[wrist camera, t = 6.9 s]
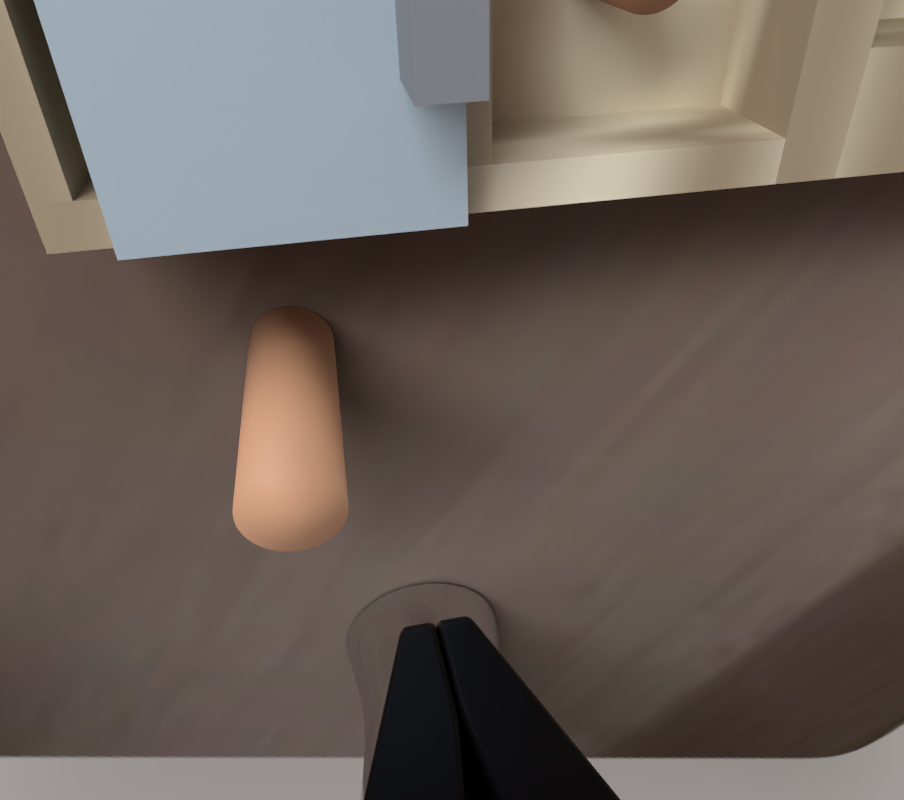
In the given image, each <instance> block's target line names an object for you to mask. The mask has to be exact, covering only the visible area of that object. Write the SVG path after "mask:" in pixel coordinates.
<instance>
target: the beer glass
mask: <svg viewBox="0 0 904 800" xmlns="http://www.w3.org/2000/svg"><path fill="white" fill-rule="evenodd" d="M462 616H467V617H470V618H471V619H472V620H473V621H474V622H475V623H476V624H477V625H478V627H479V628H480V629H481V630H482V631H483V633H484V634H485V635H486V636H487V637H488V639H489V640H490V641H491V642H492V644H493V645H494V646H495V647H496V648H497V650H498V651H499V644H498V630H497V622H496V617H495V614H494V612H493V610H492V608H491V606H490V605H489V603H488V602H487V601H486V600H485V599H484V598H483V597H482V596H480V595H479V594H477V593H476V592H474V591H472V590H470V589H467V588H464V587H461V586H457V585H453V584H445V583H426V584H418V585H413V586H408V587H405V588H401V589H398V590H395V591H393V592H391V593H388V594H386V595H384V596H382V597H381V598H379V599H377V600H376V601H374V602H373V603H371V604H370V605H369V606H368V607H366V608H365V609H364V610H363V611H362V612H361V613H360V614H359V615H358V617H357V618H356V619H355V621H354V622H353V624H352V626H351V628H350V631H349V635H348V642H347V646H348V654H349V658H350V662H351V666H352V669H353V673H354V676H355V680H356V683H357V686H358V690H359V693H360V698H361V702H362V708H363V715H364V725H365V752H364V767H363V780H362V790H361V800H364V796H365V791H366V787H367V782H368V778H369V773H370V768H371V764H372V759H373V755H374V750H375V745H376V741H377V736H378V732H379V727H380V722H381V718H382V713H383V709H384V704H385V700H386V695H387V690H388V686H389V681H390V677H391V672H392V667H393V663H394V658H395V654H396V649H397V644H398V640H399V635H400V632H401V630H402V629H403V628H404V627H407V626H412V625H418V624H423V623H433V624H434V625H435V626H436V625H437V623H438V622H439V621H441V620H445V619H451V618H456V617H462Z"/></svg>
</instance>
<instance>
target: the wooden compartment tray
mask: <svg viewBox="0 0 904 800" xmlns="http://www.w3.org/2000/svg"><path fill="white" fill-rule="evenodd" d="M466 123H467V179H468V214H471V213H481V212H491V211H502V210H512V209H523V208H533V207H543V206H554V205H564V204H575V203H585V202H595V201H606V200H616V199H627V198H637V197H647V196H658V195H668V194H679V193H689V192H699V191H710V190H720V189H731V188H741V187H751V186H762V185H772V184H783V183H793V182H803V181H814V180H824V179H835V178H845V177H855V176H866V175H876V174H887V173H897V172H904V0H489V101H478V102H466ZM0 132H1V135H2V137H3V140H4V142H5V145H6V148H7V150H8V153H9V156H10V158H11V161H12V163H13V166H14V169H15V171H16V174H17V176H18V179H19V182H20V184H21V187H22V190H23V192H24V195H25V197H26V200H27V203H28V205H29V208H30V210H31V213H32V216H33V218H34V221H35V224H36V226H37V229H38V231H39V234H40V237H41V239H42V242H43V244H44V247H45V250H46V252H47V254H55V253H65V252H76V251H86V250H96V249H107V248H113V244H112V241H111V238H110V235H109V232H108V229H107V226H106V223H105V220H104V217H103V214H102V210H101V207H100V204H99V201H98V198H97V195H96V192H95V189H94V186H93V183H92V180H91V176H90V173H89V170H88V167H87V164H86V161H85V158H84V155H83V152H82V149H81V146H80V142H79V139H78V136H77V133H76V130H75V127H74V124H73V121H72V118H71V115H70V112H69V108H68V105H67V102H66V99H65V96H64V93H63V90H62V87H61V84H60V81H59V78H58V74H57V71H56V68H55V65H54V62H53V59H52V56H51V53H50V50H49V47H48V44H47V40H46V37H45V34H44V31H43V28H42V25H41V22H40V19H39V16H38V13H37V10H36V6H35V3H34V0H0Z"/></svg>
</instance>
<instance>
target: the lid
mask: <svg viewBox="0 0 904 800" xmlns="http://www.w3.org/2000/svg"><path fill="white" fill-rule="evenodd" d="M34 3H35V6H36V10H37V13H38V16H39V19H40V22H41V25H42V28H43V31H44V34H45V37H46V40H47V44H48V47H49V50H50V53H51V56H52V59H53V62H54V65H55V68H56V71H57V74H58V78H59V81H60V84H61V87H62V90H63V93H64V96H65V99H66V102H67V105H68V108H69V112H70V115H71V118H72V121H73V124H74V127H75V130H76V133H77V136H78V139H79V142H80V146H81V149H82V152H83V155H84V158H85V161H86V164H87V167H88V170H89V173H90V176H91V180H92V183H93V186H94V189H95V192H96V195H97V198H98V201H99V204H100V207H101V210H102V214H103V217H104V220H105V223H106V226H107V229H108V232H109V235H110V238H111V241H112V244H113V248H114V251H115V254H116V257H117V260H127V259H137V258H147V257H157V256H167V255H177V254H188V253H198V252H208V251H218V250H228V249H239V248H249V247H259V246H269V245H279V244H289V243H300V242H310V241H320V240H330V239H340V238H350V237H361V236H371V235H381V234H391V233H401V232H411V231H422V230H432V229H442V228H452V227H462V226H468V179H467V123H466V102H478V101H489V0H34Z"/></svg>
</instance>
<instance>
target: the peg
mask: <svg viewBox="0 0 904 800" xmlns="http://www.w3.org/2000/svg"><path fill="white" fill-rule="evenodd" d="M348 511H349V506H348V494H347V483H346V471H345V460H344V448H343V437H342V426H341V414H340V403H339V392H338V380H337V369H336V357H335V346H334V337H333V333H332V331H331V329H330V327H329V325H328V324H327V323H326V321H325V320H324V319H323V318H321V317H320V316H319V315H318V314H316V313H314V312H312V311H310V310H307V309H304V308H300V307H282V308H278V309H274V310H272V311H270V312H268V313H266V314H264V315H263V316H262V317H261V318H260V319H259V320H258V321H257V322H256V323H255V325H254V326H253V328H252V330H251V333H250V338H249V347H248V357H247V367H246V378H245V388H244V398H243V408H242V419H241V429H240V439H239V449H238V460H237V470H236V480H235V490H234V501H233V519H234V522H235V525H236V527H237V528H238V530H239V531H240V532H241V534H242V535H243V536H244V537H246V538H247V539H248V540H249V541H251V542H252V543H254V544H256V545H258V546H261V547H263V548H266V549H270V550H275V551H283V552H294V551H302V550H307V549H310V548H314V547H316V546H319V545H321V544H323V543H325V542H327V541H328V540H330V539H331V538H333V537H334V536H335V535H336V534H337V533H338V532H339V531H340V530H341V528H342V527H343V526H344V524H345V522H346V520H347V516H348Z"/></svg>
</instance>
